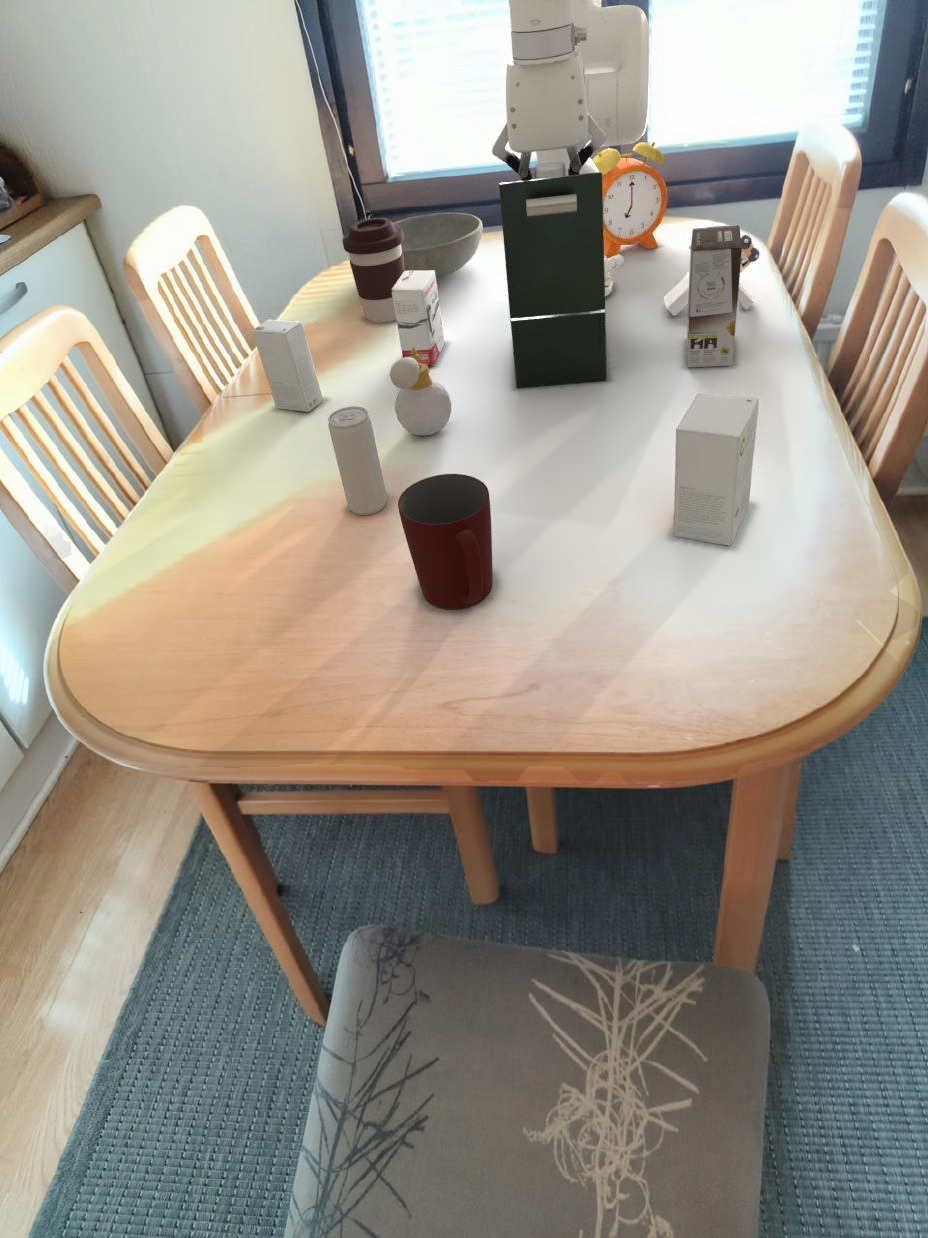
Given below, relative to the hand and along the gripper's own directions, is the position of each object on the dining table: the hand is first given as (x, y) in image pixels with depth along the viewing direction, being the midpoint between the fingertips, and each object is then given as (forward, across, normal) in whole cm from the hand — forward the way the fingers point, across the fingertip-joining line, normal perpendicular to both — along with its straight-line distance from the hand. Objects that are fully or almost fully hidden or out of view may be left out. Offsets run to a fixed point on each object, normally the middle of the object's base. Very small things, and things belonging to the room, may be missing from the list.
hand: (551, 202), depth 118 cm
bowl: (+21, +23, -40) cm, 51 cm away
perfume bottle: (+22, +18, +21) cm, 35 cm away
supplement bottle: (+4, 0, 0) cm, 4 cm away
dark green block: (+3, 0, +8) cm, 9 cm away
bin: (+21, 0, +2) cm, 21 cm away
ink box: (+22, +21, -4) cm, 30 cm away
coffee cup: (+22, +29, -22) cm, 42 cm away
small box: (+22, -15, +45) cm, 52 cm away
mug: (+22, +11, +56) cm, 61 cm away
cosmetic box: (+22, +38, +9) cm, 45 cm away
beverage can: (+22, +24, +38) cm, 49 cm away
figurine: (+22, -23, -12) cm, 34 cm away
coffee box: (+22, -21, +4) cm, 30 cm away
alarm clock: (+21, -13, -43) cm, 50 cm away
